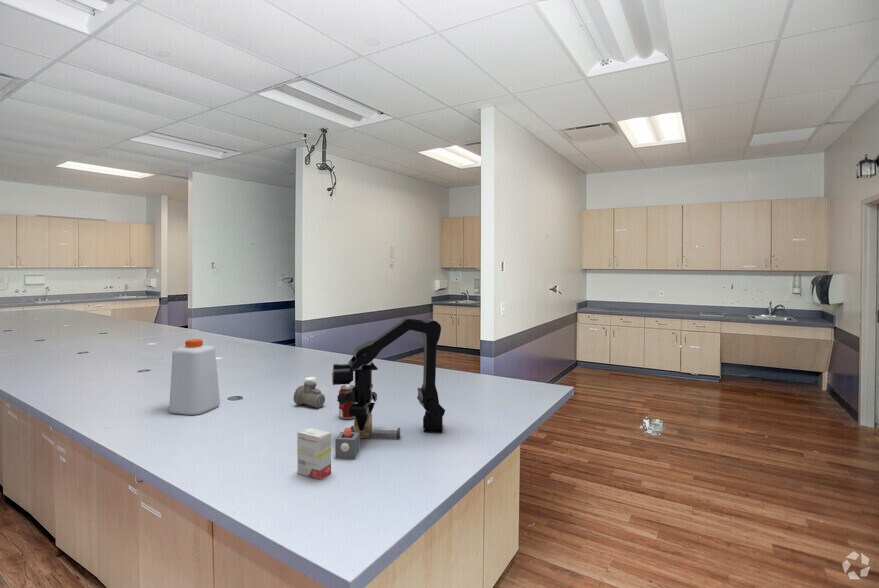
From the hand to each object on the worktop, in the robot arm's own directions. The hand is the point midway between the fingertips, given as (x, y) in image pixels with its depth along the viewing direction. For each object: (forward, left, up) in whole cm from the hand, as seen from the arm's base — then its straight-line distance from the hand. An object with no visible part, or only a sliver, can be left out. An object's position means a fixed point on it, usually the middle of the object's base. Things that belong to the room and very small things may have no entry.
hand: (363, 427), depth 153 cm
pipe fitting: (+29, -31, -3) cm, 43 cm away
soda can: (+10, -19, -3) cm, 22 cm away
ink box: (+7, +28, -3) cm, 29 cm away
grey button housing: (+1, +15, -3) cm, 15 cm away
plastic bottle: (+73, -22, -3) cm, 77 cm away
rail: (-4, 0, -3) cm, 5 cm away
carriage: (0, 0, -3) cm, 3 cm away
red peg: (+1, +15, +1) cm, 15 cm away
